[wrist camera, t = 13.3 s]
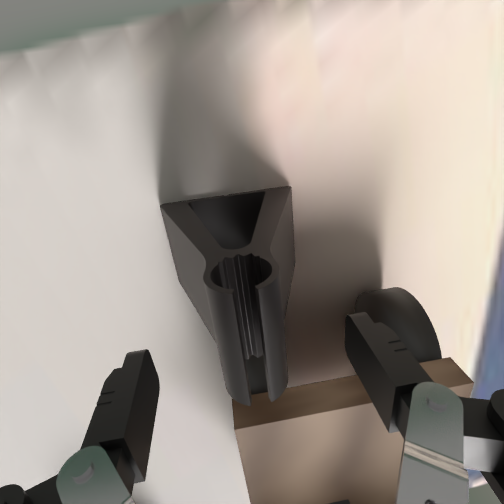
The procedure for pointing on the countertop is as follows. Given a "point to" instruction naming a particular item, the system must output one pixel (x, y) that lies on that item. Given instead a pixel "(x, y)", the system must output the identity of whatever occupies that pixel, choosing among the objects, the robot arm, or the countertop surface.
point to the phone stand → (238, 277)
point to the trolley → (335, 422)
